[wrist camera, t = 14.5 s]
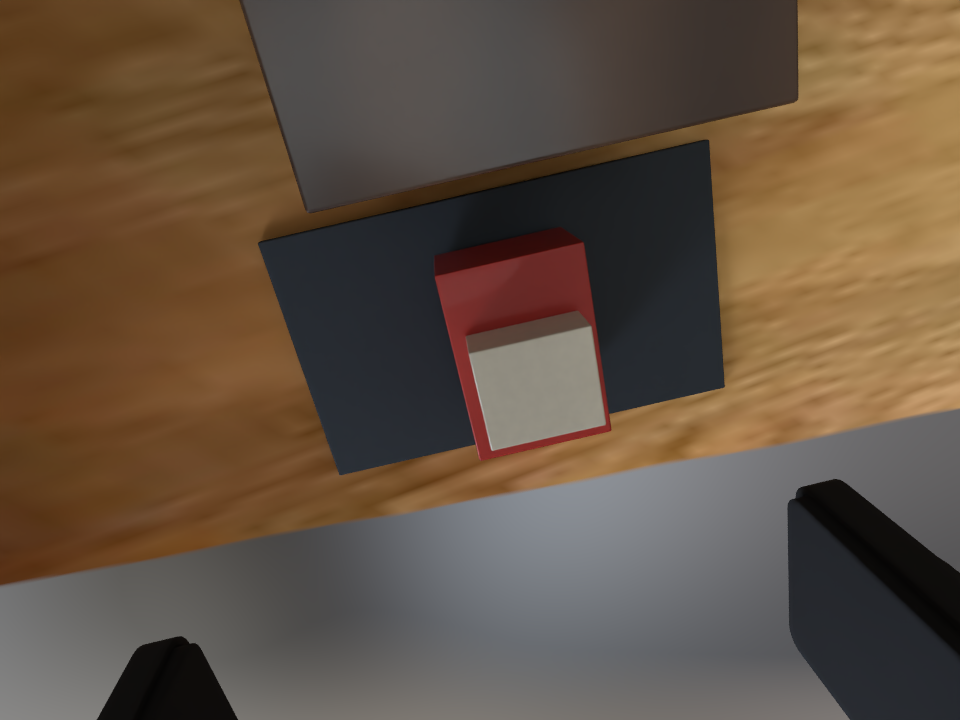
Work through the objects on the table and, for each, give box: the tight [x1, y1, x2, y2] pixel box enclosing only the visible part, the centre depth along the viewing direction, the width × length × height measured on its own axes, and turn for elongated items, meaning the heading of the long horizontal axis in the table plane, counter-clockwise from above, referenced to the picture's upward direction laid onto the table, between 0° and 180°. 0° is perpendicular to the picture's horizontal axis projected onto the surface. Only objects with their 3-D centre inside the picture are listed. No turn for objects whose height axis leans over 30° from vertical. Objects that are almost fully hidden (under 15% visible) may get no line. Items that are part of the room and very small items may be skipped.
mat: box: [258, 140, 725, 475], centre depth 28 cm, size 20×12×1 cm, turn 102°
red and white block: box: [434, 227, 611, 461], centre depth 24 cm, size 8×6×7 cm
